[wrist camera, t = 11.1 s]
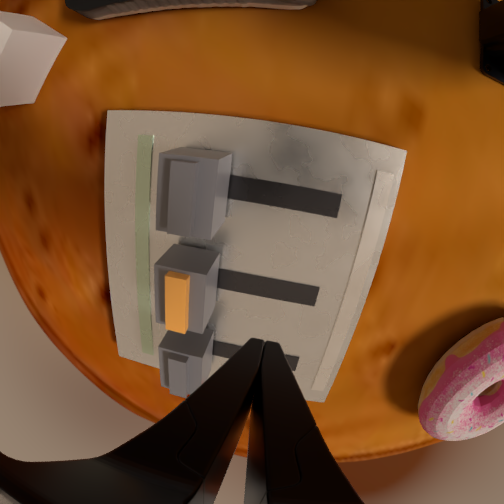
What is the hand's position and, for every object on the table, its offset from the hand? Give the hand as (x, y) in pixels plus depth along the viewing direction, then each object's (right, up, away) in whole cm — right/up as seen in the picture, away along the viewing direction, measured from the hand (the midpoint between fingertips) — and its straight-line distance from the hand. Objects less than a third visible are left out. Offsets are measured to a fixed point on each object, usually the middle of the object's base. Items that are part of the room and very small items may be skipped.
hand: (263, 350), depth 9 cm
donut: (+20, -8, +14) cm, 26 cm away
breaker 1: (-3, +7, +9) cm, 11 cm away
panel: (-2, +2, +13) cm, 13 cm away
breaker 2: (-5, -4, +14) cm, 15 cm away
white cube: (-18, +19, +8) cm, 28 cm away
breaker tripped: (-4, +1, +11) cm, 12 cm away
